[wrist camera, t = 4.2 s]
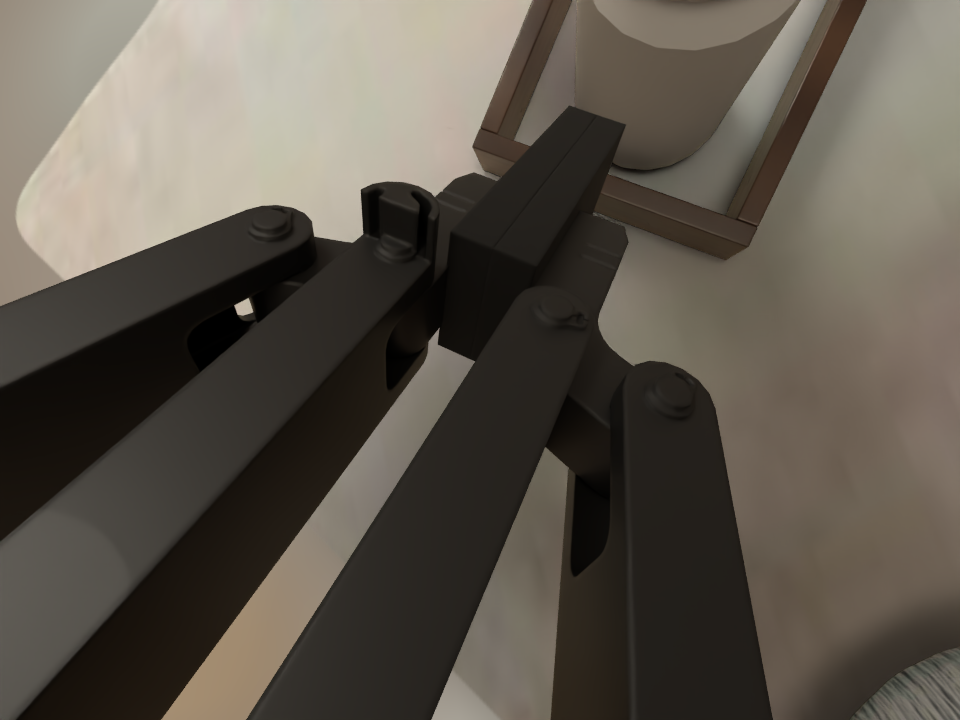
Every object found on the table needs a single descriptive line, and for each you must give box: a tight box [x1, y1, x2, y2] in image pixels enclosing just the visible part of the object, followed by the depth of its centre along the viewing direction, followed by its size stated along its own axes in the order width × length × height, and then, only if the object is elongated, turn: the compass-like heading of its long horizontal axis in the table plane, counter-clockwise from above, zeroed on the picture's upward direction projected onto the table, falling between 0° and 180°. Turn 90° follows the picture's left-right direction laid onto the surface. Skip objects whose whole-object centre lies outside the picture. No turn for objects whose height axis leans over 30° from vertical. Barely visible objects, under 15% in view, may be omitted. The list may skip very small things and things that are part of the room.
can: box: [575, 0, 801, 170], centre depth 18 cm, size 8×8×12 cm
